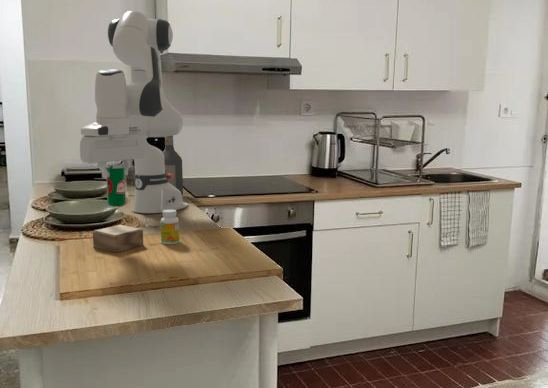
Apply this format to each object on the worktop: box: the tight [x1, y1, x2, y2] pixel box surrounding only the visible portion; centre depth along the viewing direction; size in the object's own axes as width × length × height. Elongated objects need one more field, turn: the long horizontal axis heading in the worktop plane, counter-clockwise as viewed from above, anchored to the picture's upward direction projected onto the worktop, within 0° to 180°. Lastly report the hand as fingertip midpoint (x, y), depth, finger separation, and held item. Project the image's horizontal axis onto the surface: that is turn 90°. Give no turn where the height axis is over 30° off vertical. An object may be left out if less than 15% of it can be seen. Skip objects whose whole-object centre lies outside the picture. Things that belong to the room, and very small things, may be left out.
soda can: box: [105, 162, 127, 208], centre depth 159 cm, size 5×5×12 cm
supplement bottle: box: [160, 209, 180, 245], centre depth 166 cm, size 5×5×10 cm
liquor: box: [162, 135, 184, 196], centre depth 242 cm, size 9×9×30 cm
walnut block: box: [92, 224, 144, 254], centre depth 162 cm, size 10×10×5 cm
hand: (115, 176), depth 159 cm, fingers closed on soda can, 5 cm apart
